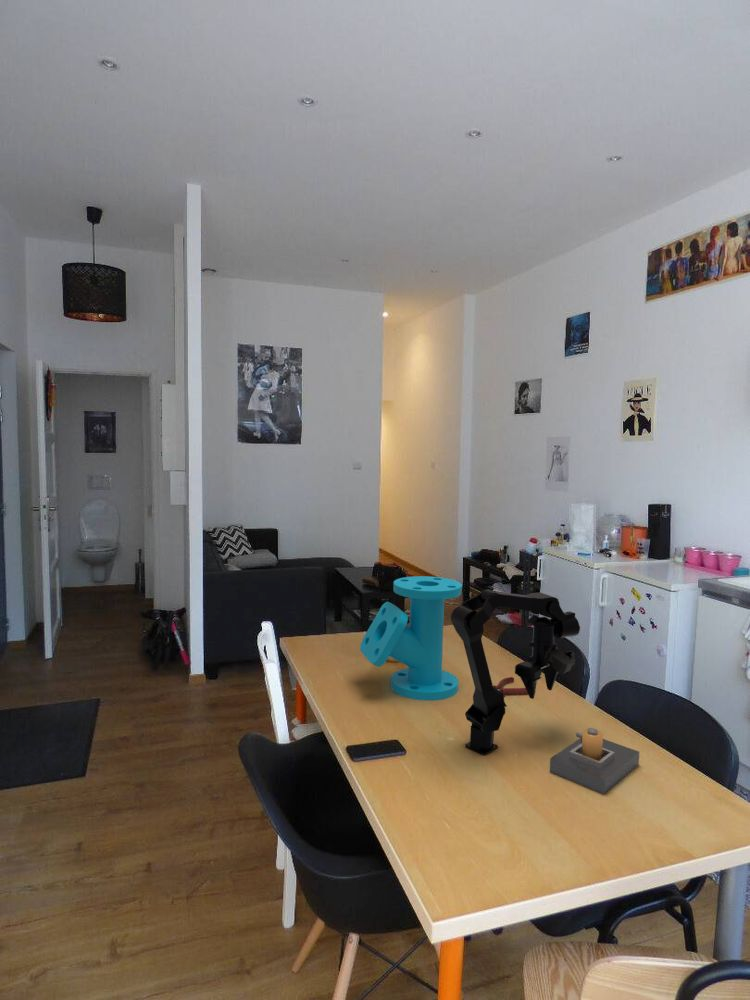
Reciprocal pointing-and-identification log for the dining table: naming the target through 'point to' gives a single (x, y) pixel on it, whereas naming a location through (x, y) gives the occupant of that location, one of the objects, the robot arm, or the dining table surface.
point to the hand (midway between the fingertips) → (540, 694)
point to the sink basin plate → (595, 765)
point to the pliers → (510, 690)
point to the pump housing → (591, 743)
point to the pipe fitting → (414, 638)
